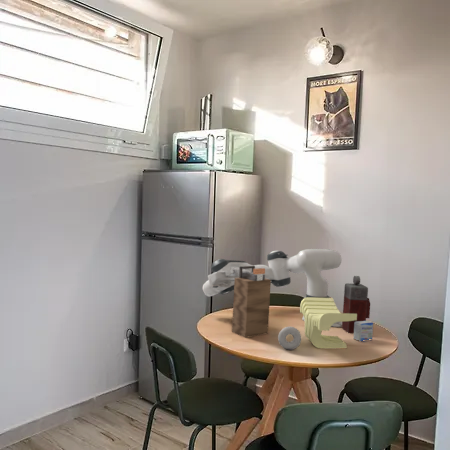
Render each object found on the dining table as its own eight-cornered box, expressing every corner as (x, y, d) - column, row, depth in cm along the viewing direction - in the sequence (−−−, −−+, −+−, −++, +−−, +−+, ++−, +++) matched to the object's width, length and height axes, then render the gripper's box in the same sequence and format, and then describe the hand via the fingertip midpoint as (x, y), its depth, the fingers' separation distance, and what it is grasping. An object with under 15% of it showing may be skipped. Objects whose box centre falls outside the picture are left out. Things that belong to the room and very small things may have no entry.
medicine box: (359, 342, 208) (361, 323, 208) (353, 339, 212) (354, 321, 212) (372, 340, 212) (373, 322, 211) (365, 337, 216) (366, 319, 215)
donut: (300, 348, 194) (301, 326, 193) (301, 351, 190) (302, 328, 190) (276, 347, 194) (278, 324, 193) (277, 350, 190) (279, 327, 190)
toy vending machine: (369, 333, 223) (373, 278, 221) (347, 333, 222) (351, 277, 220) (362, 328, 232) (366, 274, 230) (341, 328, 231) (345, 274, 229)
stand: (231, 331, 214) (235, 266, 212) (254, 328, 222) (257, 265, 220) (245, 337, 206) (248, 270, 204) (267, 333, 214) (271, 268, 212)
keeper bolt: (228, 273, 223) (229, 263, 222) (238, 273, 226) (238, 262, 226) (254, 280, 207) (255, 269, 206) (264, 280, 210) (265, 268, 210)
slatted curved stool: (298, 333, 217) (300, 297, 216) (330, 334, 219) (332, 298, 218) (317, 354, 187) (320, 312, 186) (354, 355, 189) (357, 313, 188)
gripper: (239, 284, 237) (255, 275, 227) (208, 287, 225) (223, 277, 215) (236, 273, 239) (251, 263, 229) (205, 275, 227) (219, 265, 217)
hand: (237, 270), depth 222 cm, fingers closed on keeper bolt, 3 cm apart
